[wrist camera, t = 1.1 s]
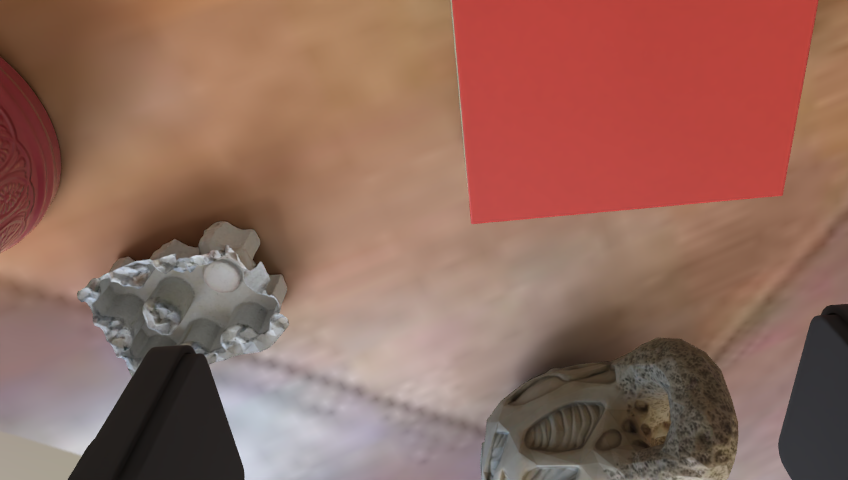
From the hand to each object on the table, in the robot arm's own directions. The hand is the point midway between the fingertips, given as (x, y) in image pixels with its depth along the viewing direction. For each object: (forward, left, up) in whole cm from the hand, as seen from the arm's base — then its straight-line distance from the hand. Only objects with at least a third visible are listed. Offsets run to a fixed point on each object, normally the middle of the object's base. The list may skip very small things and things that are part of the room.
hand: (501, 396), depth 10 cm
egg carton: (+13, -17, -25) cm, 32 cm away
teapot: (+24, +5, -25) cm, 34 cm away
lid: (-3, +6, -17) cm, 18 cm away
